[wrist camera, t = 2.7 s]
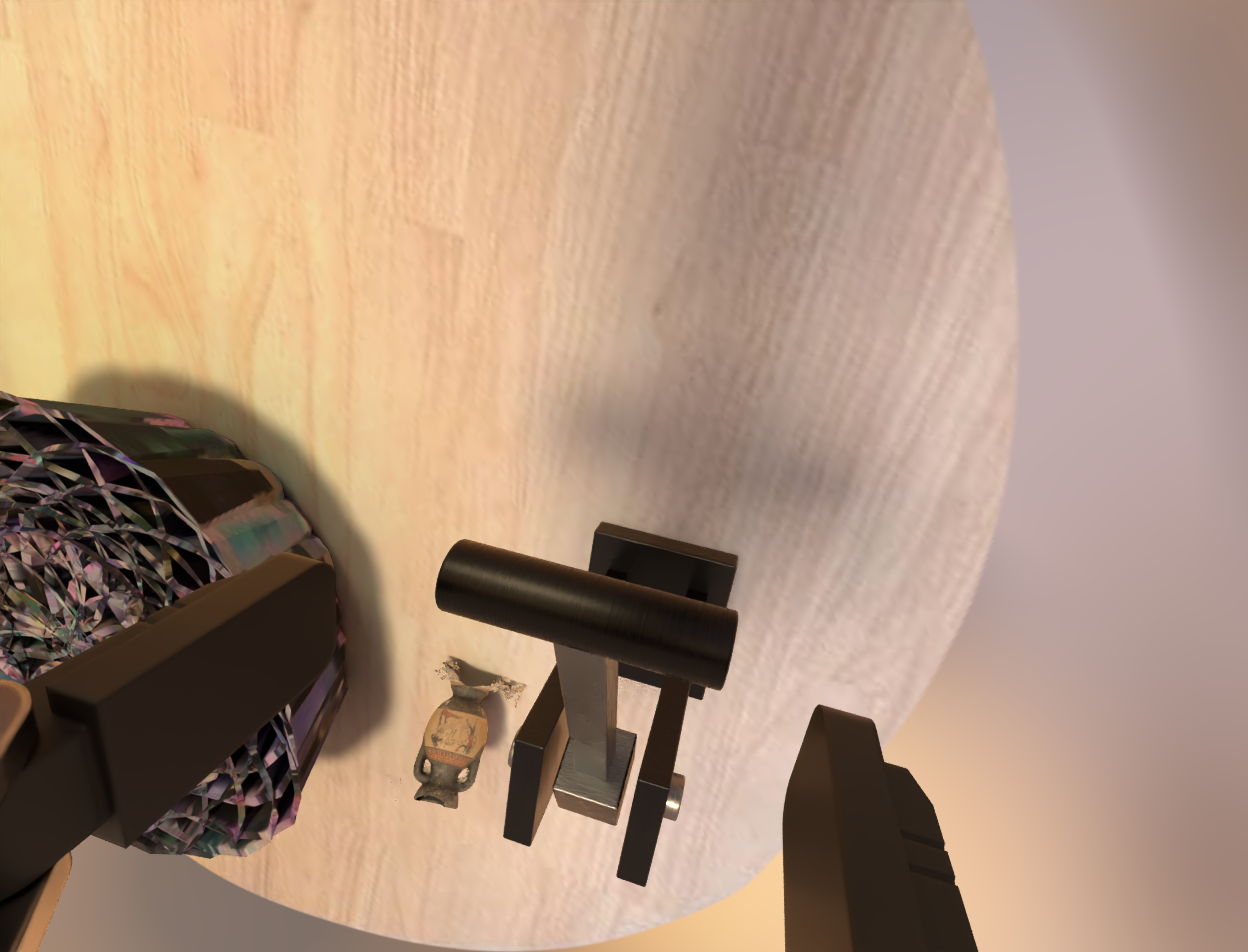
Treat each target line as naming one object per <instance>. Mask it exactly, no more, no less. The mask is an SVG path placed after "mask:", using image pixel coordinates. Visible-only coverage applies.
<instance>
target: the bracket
mask: <svg viewBox="0 0 1248 952" xmlns="http://www.w3.org/2000/svg"><path fill="white" fill-rule="evenodd" d="M737 562H738V556H736V555H732V554H728V553H724V552H720V551H716V550H712V549H708V548H704V547H700V546H696V545H692V544H688V543H684V542H680V541H676V540H671V539H667V538H663V537H659V536H655V535H651V534H647V533H643V532H639V531H635V530H631V529H627V528H623V527H619V526H615V525H611V524H607V523H603V522H601V523H600V524H599V526H598V527H597V529H596V530H595V532H594V539H593V545H592V552H591V558H590V565H589V571H588V572H592V573H595V574H599V575H603V576H607V577H611V578H614V579H618V580H622V581H626V582H629V583H633V584H637V585H641V586H645V587H648V588H652V589H656V590H660V591H663V592H667V593H671V594H675V595H679V596H682V597H686V598H690V599H694V600H697V601H701V602H705V603H709V604H713V605H716V606H720V607H724V608H727V604H728V600H729V596H730V592H731V588H732V584H733V581H734V577H735V573H736V569H737ZM618 676H620V677H624V678H627V679H631V680H634V681H638V682H641V683H644V684H648V685H651V686H655V687H658V688H661V692H660V696H659V700H658V704H657V708H656V711H655V715H654V719H653V723H652V727H651V730H650V734H649V738H648V742H647V746H646V749H645V753H644V757H643V761H642V765H641V768H640V772H639V776H638V780H637V785H636V789H635V794H634V798H633V803H632V807H631V812H630V816H629V821H628V825H627V829H626V834H625V838H624V843H623V847H622V852H621V856H620V861H619V865H618V870H617V874H616V876H617V878H620V879H623V880H626V881H629V882H631V883H634V884H637V885H640V886H643V887H645V886H646V883H647V879H648V875H649V871H650V867H651V863H652V859H653V855H654V851H655V847H656V843H657V839H658V835H659V831H660V827H661V823H662V819H663V817H664V818H667V819H670V820H673V821H676V819H677V817H678V813H679V809H680V805H681V800H682V795H683V790H684V785H685V776H684V775H681V774H678V773H674V772H673V771H674V766H675V761H676V756H677V751H678V746H679V740H680V735H681V730H682V725H683V720H684V715H685V710H686V705H687V699H688V696H689V697H692V698H696V699H699V700H702V699H703V696H704V692H705V689H706V687H704V686H701V685H698V684H694V683H691V682H687V681H684V680H680V679H677V678H673V677H670V676H666V675H663V674H659V673H656V672H653V671H649V670H646V669H642V668H639V667H635V666H632V665H628V664H625V663H621V662H618ZM568 738H569V731H568V725H567V719H566V713H565V708H564V702H563V696H562V690H561V684H560V679H559V673H558V667H557V663H556V665H555V667H554V669H553V671H552V672H551V674H550V676H549V678H548V680H547V681H546V683H545V685H544V687H543V689H542V691H541V692H540V694H539V696H538V698H537V700H536V701H535V703H534V705H533V707H532V709H531V710H530V712H529V714H528V716H527V718H526V720H525V721H524V723H523V725H522V726H521V727H520V728H519V730H518V731H517V733H516V735H515V738H514V740H513V743H512V746H511V749H510V753H509V759H508V765H509V766H510V767H511V775H510V783H509V792H508V800H507V809H506V817H505V826H504V834H503V837H504V838H506V839H509V840H512V841H515V842H517V843H520V844H523V845H526V846H531V844H532V841H533V839H534V837H535V834H536V832H537V829H538V827H539V825H540V822H541V820H542V817H543V815H544V813H545V810H546V808H547V806H548V803H549V801H550V798H551V796H552V794H553V787H552V786H553V783H554V780H555V777H556V774H557V771H558V768H559V765H560V762H561V759H562V756H563V753H564V750H565V747H566V744H567V741H568Z"/></svg>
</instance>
